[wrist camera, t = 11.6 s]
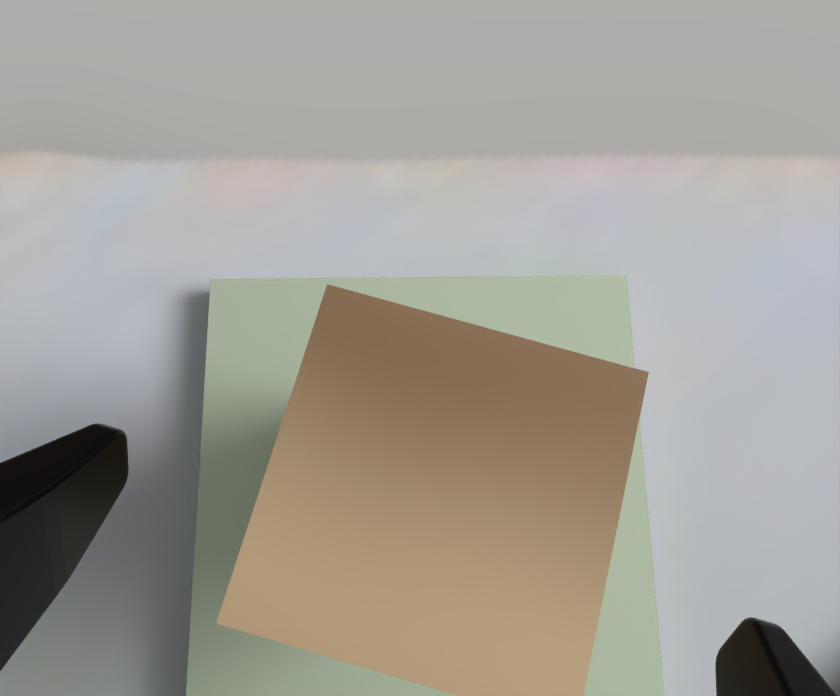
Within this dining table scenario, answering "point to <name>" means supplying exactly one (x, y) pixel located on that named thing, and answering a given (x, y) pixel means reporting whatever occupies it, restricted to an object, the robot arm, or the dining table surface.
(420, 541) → the oak block
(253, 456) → the sage mat
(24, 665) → the dining table surface
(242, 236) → the dining table surface
